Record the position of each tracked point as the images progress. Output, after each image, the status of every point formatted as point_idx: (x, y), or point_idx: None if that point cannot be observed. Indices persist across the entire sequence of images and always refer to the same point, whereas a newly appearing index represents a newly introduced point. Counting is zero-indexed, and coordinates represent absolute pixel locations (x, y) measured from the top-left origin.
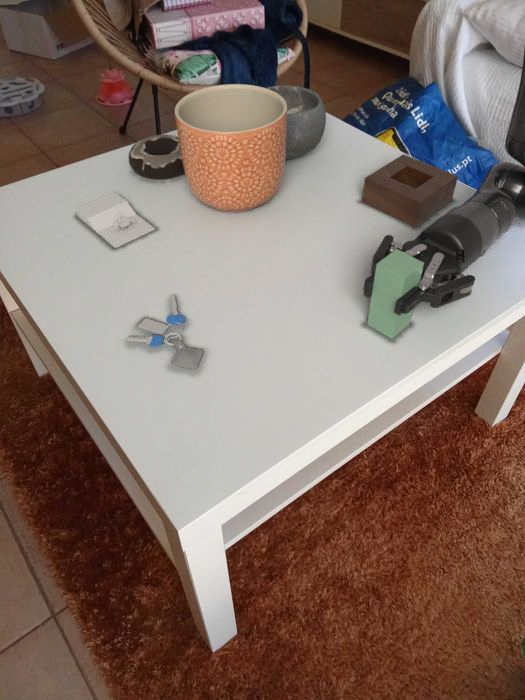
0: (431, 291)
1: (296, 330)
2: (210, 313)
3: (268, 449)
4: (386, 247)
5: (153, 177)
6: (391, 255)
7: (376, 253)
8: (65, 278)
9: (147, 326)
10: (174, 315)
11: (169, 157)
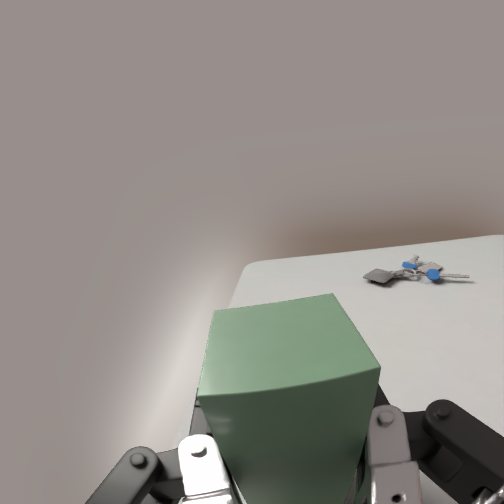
0: (169, 463)
1: (379, 356)
2: (442, 298)
3: (246, 294)
4: (489, 459)
5: None
6: (346, 333)
7: (466, 416)
8: (493, 247)
9: (430, 265)
10: (438, 273)
11: None
